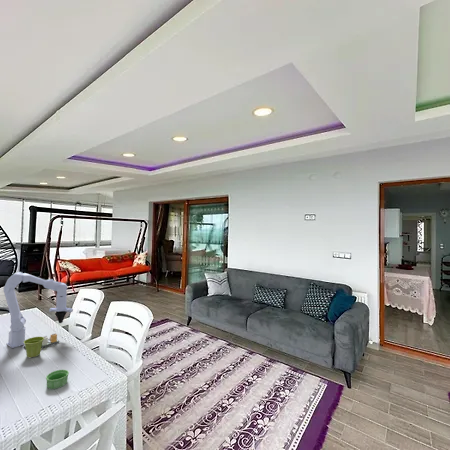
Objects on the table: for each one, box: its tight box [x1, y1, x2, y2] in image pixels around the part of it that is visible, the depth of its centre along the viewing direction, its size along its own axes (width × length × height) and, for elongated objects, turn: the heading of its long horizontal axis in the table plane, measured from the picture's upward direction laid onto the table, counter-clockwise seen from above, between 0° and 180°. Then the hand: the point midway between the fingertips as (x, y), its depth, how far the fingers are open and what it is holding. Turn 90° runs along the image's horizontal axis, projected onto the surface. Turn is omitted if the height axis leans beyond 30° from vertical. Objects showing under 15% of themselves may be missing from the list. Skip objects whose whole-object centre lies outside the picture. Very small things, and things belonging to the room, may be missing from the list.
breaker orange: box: [49, 332, 58, 342], centre depth 164 cm, size 3×3×4 cm
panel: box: [23, 337, 60, 350], centre depth 162 cm, size 10×15×2 cm, turn 146°
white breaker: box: [42, 335, 49, 345], centre depth 160 cm, size 3×3×4 cm
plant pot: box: [24, 336, 44, 358], centre depth 149 cm, size 9×9×9 cm
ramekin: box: [45, 369, 70, 390], centre depth 122 cm, size 9×9×4 cm
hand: (60, 322), depth 173 cm, fingers closed
